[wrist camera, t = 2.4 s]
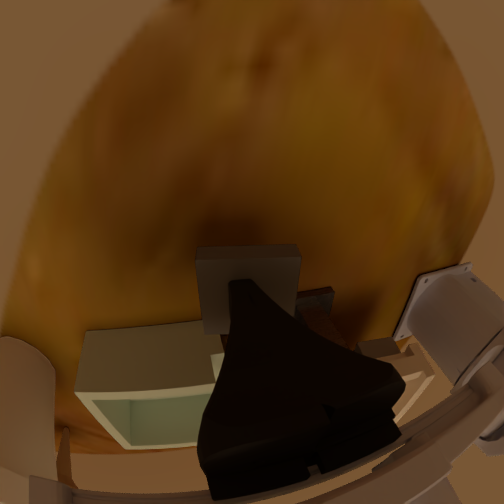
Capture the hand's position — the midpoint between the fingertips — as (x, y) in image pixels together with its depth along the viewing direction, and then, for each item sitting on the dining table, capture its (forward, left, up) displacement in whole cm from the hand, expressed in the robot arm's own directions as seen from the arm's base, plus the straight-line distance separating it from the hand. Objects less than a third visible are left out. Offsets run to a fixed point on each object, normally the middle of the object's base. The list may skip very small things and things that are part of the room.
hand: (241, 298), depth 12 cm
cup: (+5, +10, -5) cm, 12 cm away
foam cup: (+18, +9, -5) cm, 20 cm away
